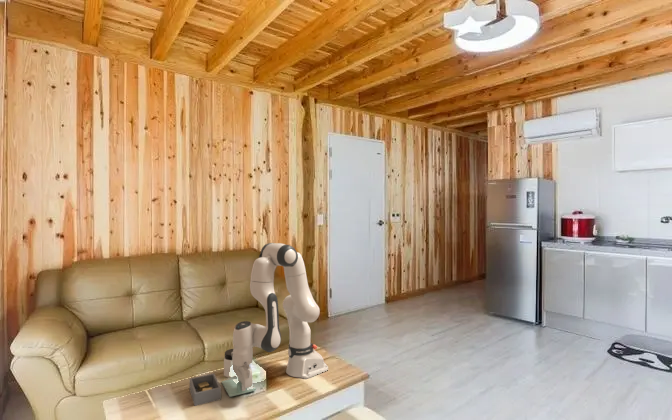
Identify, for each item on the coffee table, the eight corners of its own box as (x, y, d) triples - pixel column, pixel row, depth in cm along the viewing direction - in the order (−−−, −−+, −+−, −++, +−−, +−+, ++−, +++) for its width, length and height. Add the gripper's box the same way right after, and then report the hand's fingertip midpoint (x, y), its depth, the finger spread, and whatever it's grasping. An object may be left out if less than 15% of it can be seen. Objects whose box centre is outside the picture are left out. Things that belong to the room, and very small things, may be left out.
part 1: (206, 387, 167) (206, 381, 167) (209, 391, 164) (209, 384, 164) (197, 390, 164) (197, 383, 164) (200, 394, 161) (200, 387, 161)
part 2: (212, 393, 162) (212, 387, 162) (211, 398, 158) (211, 391, 158) (202, 394, 161) (202, 388, 161) (201, 399, 157) (201, 393, 157)
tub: (213, 385, 170) (214, 373, 170) (220, 401, 157) (220, 387, 157) (189, 391, 165) (189, 378, 165) (194, 407, 152) (194, 394, 152)
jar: (226, 380, 175) (226, 356, 175) (221, 373, 182) (221, 350, 182) (243, 376, 180) (244, 352, 180) (238, 369, 187) (239, 347, 187)
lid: (246, 377, 178) (246, 368, 178) (255, 390, 164) (255, 380, 164) (221, 383, 172) (221, 374, 172) (229, 396, 158) (229, 387, 158)
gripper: (256, 366, 154) (255, 397, 155) (243, 348, 172) (243, 377, 172) (241, 369, 151) (241, 401, 152) (230, 351, 169) (229, 380, 169)
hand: (242, 388), depth 162 cm, fingers closed on lid, 3 cm apart
